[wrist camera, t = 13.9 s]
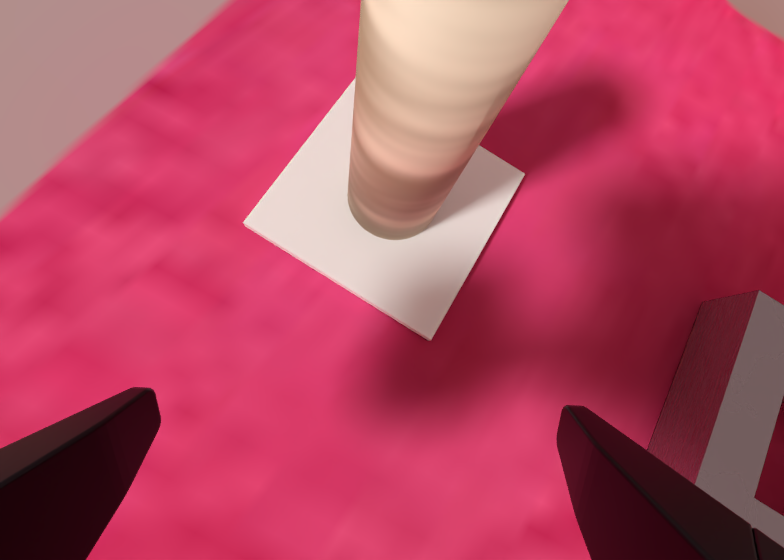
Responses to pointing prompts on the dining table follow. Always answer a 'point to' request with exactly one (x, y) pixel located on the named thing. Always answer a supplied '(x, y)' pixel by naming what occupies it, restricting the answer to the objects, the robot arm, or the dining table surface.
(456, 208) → the white mat
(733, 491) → the socket block
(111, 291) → the dining table surface
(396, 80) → the birch peg
